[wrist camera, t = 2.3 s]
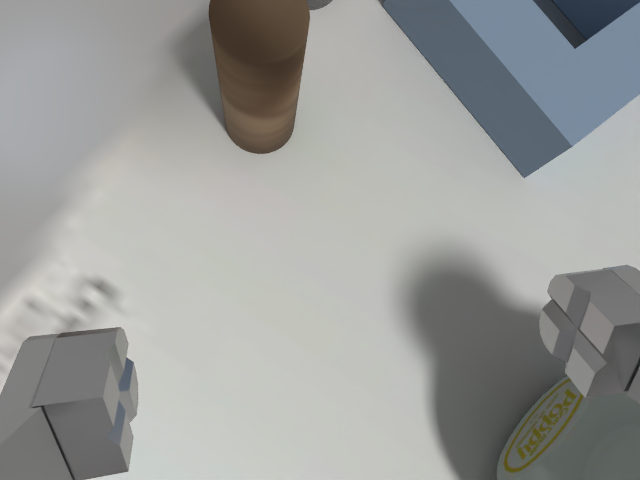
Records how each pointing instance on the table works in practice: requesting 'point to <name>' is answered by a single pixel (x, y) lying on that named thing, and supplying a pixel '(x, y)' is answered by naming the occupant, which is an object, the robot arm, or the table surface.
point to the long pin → (259, 67)
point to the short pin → (317, 4)
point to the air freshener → (574, 438)
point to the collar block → (529, 67)
